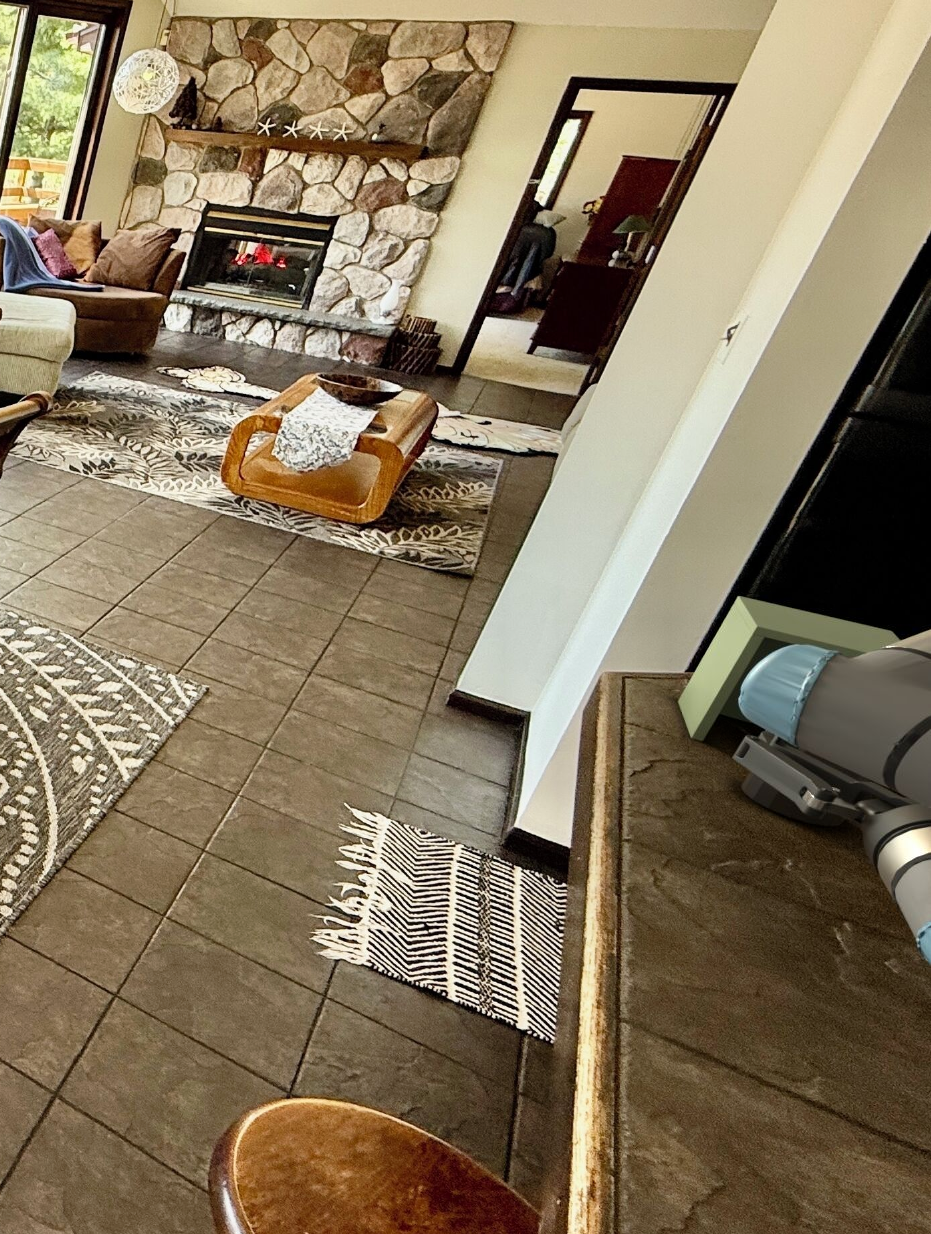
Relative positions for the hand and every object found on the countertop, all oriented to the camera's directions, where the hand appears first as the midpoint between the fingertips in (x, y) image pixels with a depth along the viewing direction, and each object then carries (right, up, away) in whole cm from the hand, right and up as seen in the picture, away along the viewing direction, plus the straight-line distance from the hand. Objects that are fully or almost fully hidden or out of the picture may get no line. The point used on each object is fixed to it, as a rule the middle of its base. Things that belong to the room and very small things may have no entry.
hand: (874, 757), depth 92 cm
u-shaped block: (+17, -3, +25) cm, 30 cm away
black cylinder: (+6, -7, +12) cm, 15 cm away
